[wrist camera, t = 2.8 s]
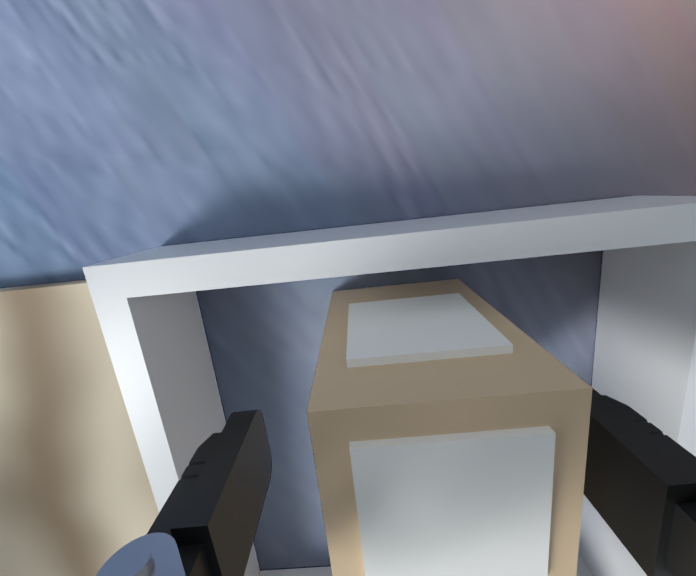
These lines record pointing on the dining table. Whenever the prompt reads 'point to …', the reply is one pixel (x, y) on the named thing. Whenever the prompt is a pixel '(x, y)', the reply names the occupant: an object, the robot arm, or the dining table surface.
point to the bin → (406, 254)
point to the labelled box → (444, 438)
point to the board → (64, 438)
